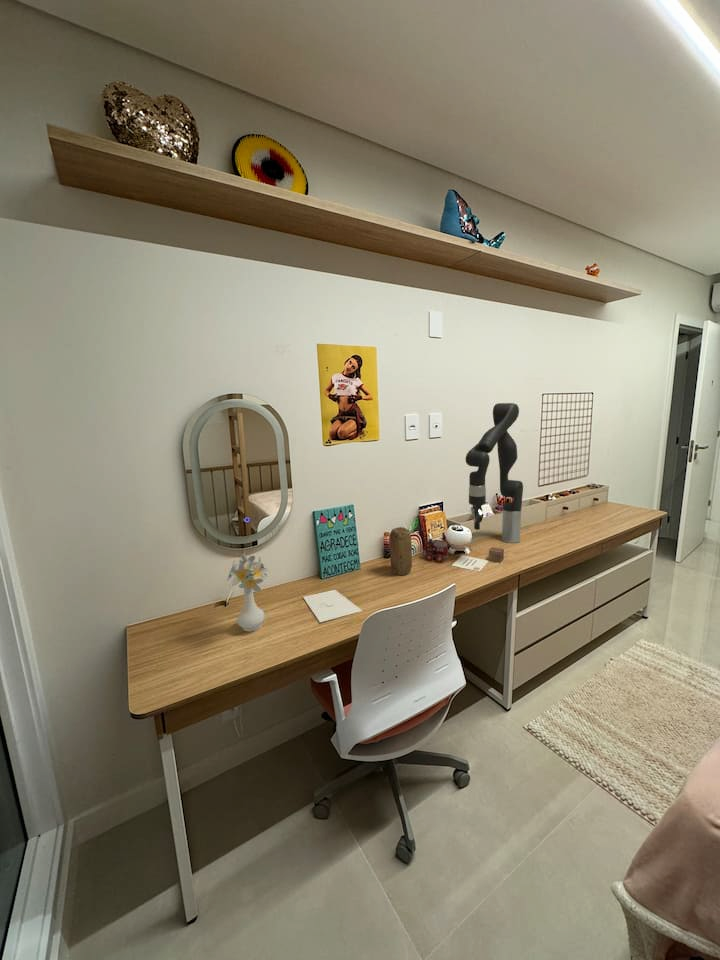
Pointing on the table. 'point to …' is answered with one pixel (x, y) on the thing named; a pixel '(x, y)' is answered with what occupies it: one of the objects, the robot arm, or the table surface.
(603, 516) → the table surface
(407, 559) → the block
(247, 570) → the flower vase
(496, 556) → the cube
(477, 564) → the letter
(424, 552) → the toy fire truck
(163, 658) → the table surface
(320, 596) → the paper sheet
